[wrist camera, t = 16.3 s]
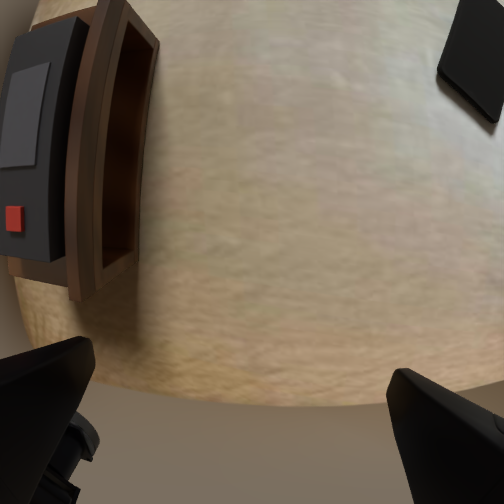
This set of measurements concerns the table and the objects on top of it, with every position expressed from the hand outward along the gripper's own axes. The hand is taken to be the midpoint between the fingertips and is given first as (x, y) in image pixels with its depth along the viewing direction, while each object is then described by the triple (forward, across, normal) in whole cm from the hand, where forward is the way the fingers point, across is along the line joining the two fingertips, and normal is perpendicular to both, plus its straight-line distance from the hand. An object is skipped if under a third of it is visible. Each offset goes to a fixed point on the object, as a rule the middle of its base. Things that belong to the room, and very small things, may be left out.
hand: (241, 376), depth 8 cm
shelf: (+13, +12, -7) cm, 19 cm away
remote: (+6, +12, -7) cm, 15 cm away
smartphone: (+13, -18, -21) cm, 31 cm away
